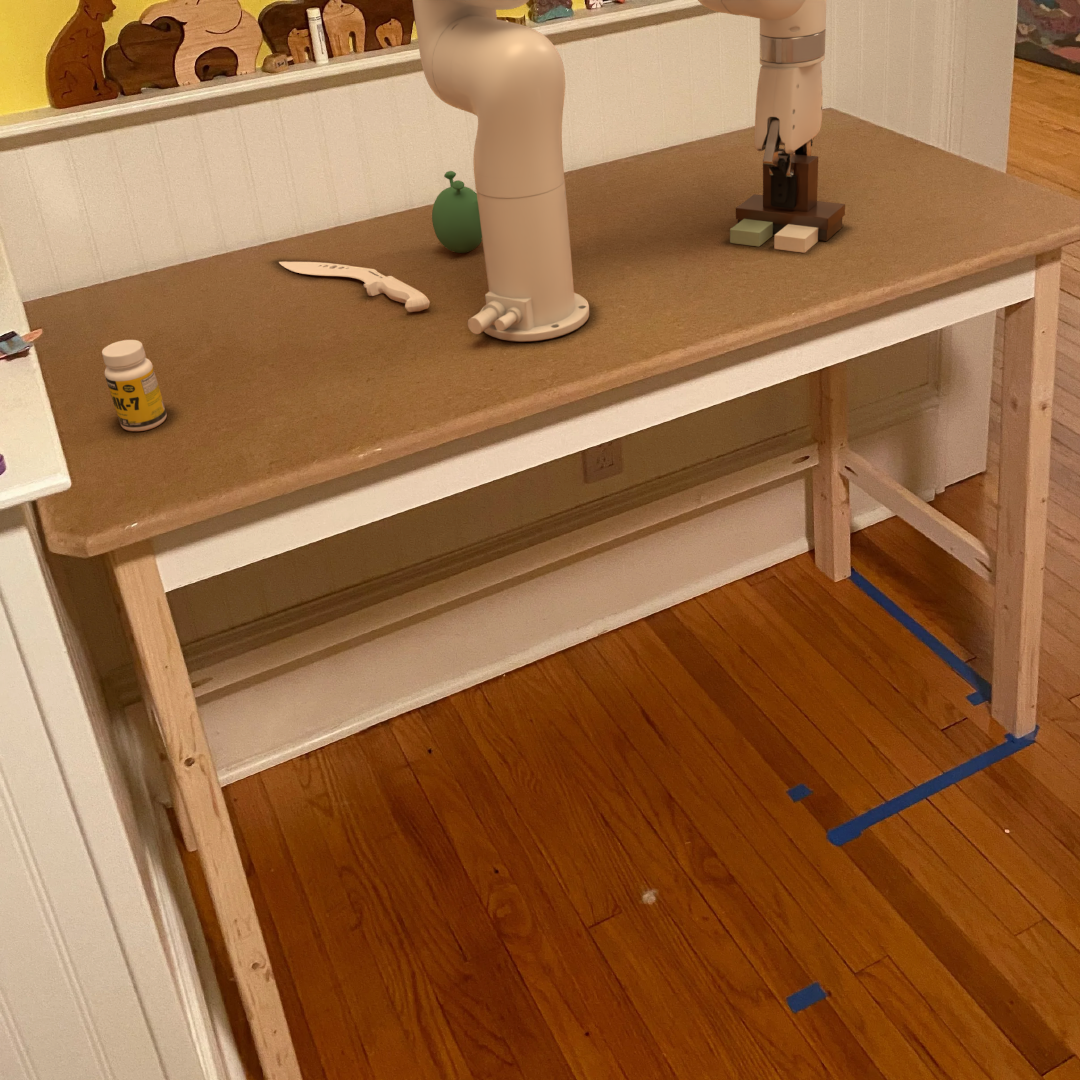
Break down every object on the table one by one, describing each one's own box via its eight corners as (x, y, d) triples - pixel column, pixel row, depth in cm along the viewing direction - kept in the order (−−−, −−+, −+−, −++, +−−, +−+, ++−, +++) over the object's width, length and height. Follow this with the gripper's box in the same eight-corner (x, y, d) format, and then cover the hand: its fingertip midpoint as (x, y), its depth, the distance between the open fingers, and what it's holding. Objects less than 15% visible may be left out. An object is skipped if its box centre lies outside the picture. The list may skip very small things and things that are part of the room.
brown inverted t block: (827, 242, 150) (829, 169, 144) (735, 230, 156) (734, 160, 151) (844, 227, 153) (847, 155, 148) (754, 216, 159) (753, 147, 154)
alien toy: (501, 253, 157) (492, 176, 152) (444, 265, 156) (432, 187, 150) (487, 237, 163) (478, 162, 157) (431, 248, 161) (420, 172, 156)
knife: (275, 256, 162) (328, 240, 165) (278, 268, 163) (330, 251, 166) (372, 315, 139) (431, 294, 142) (375, 328, 140) (433, 308, 143)
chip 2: (804, 253, 148) (805, 238, 147) (774, 249, 150) (774, 234, 149) (817, 241, 150) (818, 227, 149) (787, 237, 152) (788, 223, 151)
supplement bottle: (111, 430, 125) (87, 356, 121) (139, 409, 129) (116, 336, 124) (150, 434, 124) (126, 359, 119) (176, 412, 127) (155, 339, 123)
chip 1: (759, 246, 151) (759, 232, 150) (729, 243, 153) (729, 229, 152) (772, 235, 153) (773, 222, 152) (743, 232, 155) (743, 218, 154)
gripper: (791, 30, 150) (789, 178, 160) (731, 63, 139) (733, 220, 149) (849, 31, 146) (843, 183, 156) (792, 66, 135) (790, 227, 145)
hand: (789, 200), depth 152 cm, fingers closed on brown inverted t block, 3 cm apart
